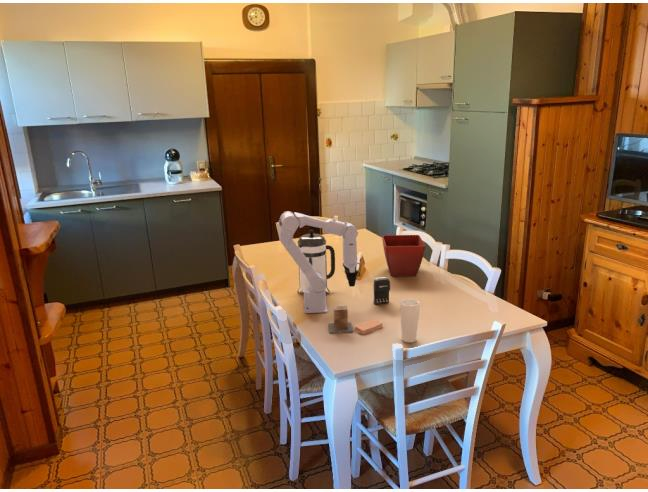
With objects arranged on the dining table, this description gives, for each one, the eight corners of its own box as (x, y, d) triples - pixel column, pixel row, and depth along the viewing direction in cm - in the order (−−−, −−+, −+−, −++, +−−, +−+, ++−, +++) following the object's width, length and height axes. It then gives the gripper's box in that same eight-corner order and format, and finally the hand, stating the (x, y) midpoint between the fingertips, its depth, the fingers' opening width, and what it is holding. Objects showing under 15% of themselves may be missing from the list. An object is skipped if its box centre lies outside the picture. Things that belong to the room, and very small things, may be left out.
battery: (375, 305, 212) (375, 280, 209) (372, 302, 216) (372, 277, 212) (390, 304, 213) (391, 279, 210) (388, 300, 217) (388, 276, 213)
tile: (354, 331, 191) (363, 335, 187) (354, 326, 190) (363, 330, 186) (373, 323, 197) (382, 327, 193) (373, 318, 196) (382, 323, 192)
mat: (329, 333, 188) (329, 332, 188) (328, 324, 196) (328, 323, 195) (353, 332, 189) (353, 330, 189) (351, 323, 196) (351, 322, 196)
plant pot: (424, 278, 241) (425, 245, 236) (385, 279, 242) (385, 246, 237) (418, 265, 259) (419, 234, 255) (381, 266, 260) (381, 235, 255)
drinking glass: (416, 335, 185) (417, 298, 181) (420, 343, 179) (421, 305, 175) (398, 335, 185) (398, 298, 181) (401, 344, 179) (402, 306, 174)
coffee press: (328, 300, 218) (327, 235, 210) (293, 298, 222) (290, 233, 213) (335, 286, 235) (334, 224, 226) (302, 284, 238) (300, 223, 229)
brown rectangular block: (334, 329, 190) (334, 310, 188) (334, 325, 194) (333, 306, 191) (347, 328, 191) (347, 309, 188) (346, 324, 194) (346, 305, 192)
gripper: (361, 257, 199) (362, 288, 203) (357, 246, 213) (358, 276, 217) (344, 258, 199) (345, 289, 203) (340, 247, 212) (341, 277, 216)
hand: (350, 282), depth 210 cm, fingers open, 7 cm apart
